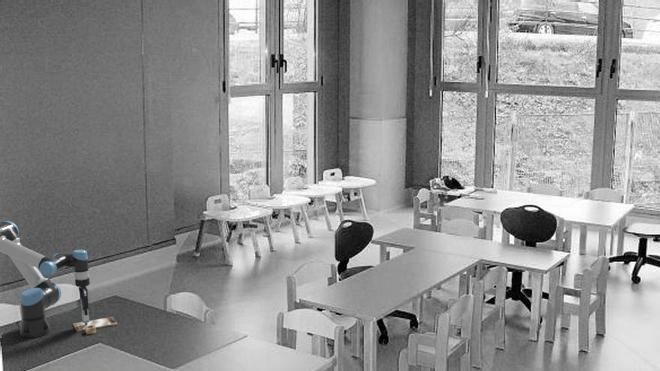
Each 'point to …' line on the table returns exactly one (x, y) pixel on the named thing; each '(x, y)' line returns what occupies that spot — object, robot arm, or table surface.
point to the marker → (82, 313)
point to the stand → (90, 329)
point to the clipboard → (96, 323)
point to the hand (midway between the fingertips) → (85, 319)
